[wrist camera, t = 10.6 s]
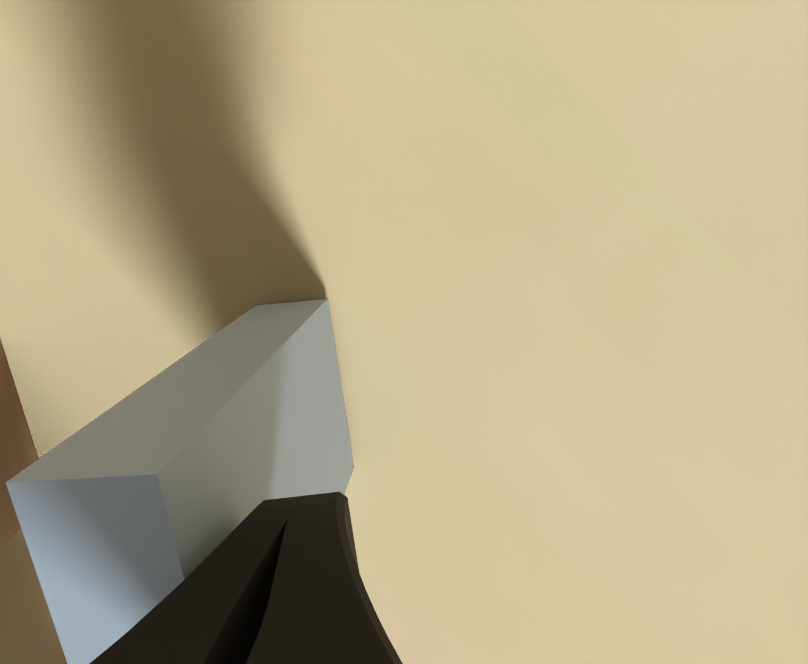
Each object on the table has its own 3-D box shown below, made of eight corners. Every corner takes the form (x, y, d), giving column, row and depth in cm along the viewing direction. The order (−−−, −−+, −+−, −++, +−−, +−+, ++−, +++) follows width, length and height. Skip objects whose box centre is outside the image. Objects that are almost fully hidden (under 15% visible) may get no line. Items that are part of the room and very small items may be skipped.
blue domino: (354, 466, 17) (238, 786, 8) (287, 470, 17) (108, 784, 9) (327, 298, 16) (156, 474, 7) (255, 305, 16) (4, 482, 7)
